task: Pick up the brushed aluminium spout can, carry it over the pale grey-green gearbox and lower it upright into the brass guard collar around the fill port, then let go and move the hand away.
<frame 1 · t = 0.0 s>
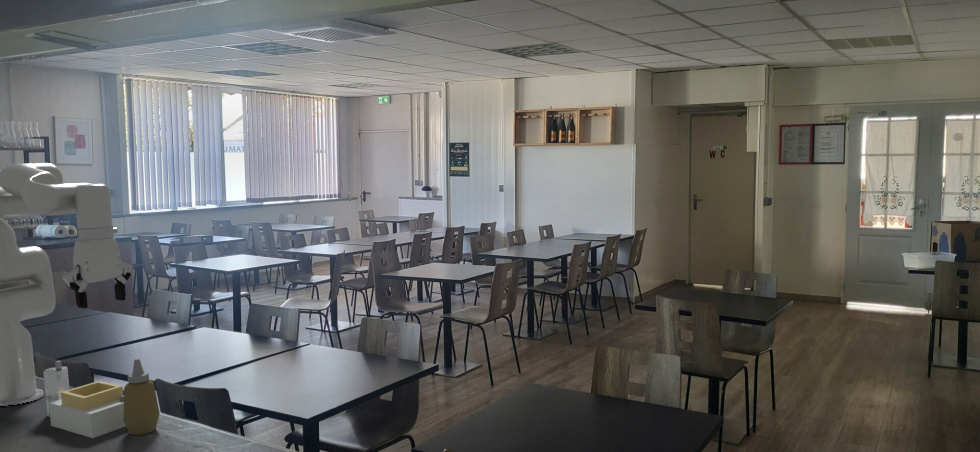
hand: (102, 303, 181), 31 cm above the table, tool pointing down, fingers open, 9 cm apart
spout can: (59, 413, 195), on the table
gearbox: (94, 423, 187), on the table
squeeze bottle: (143, 431, 181), on the table
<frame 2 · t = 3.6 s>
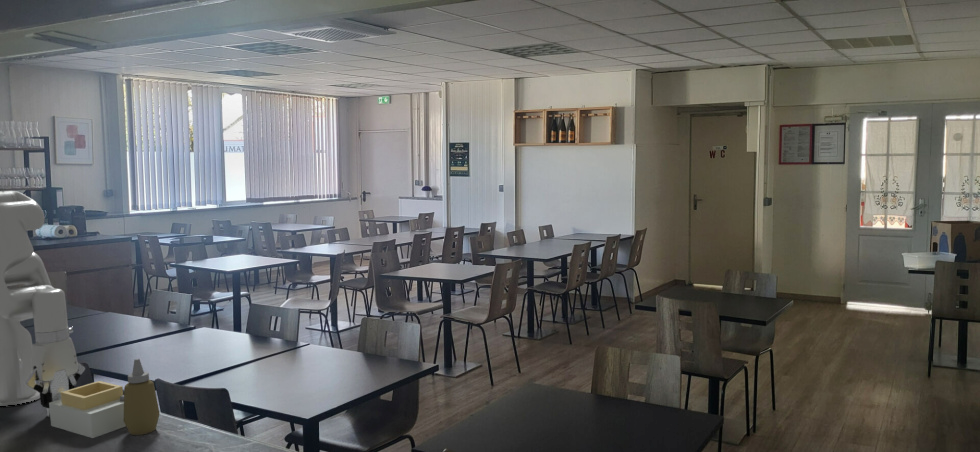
hand: (58, 402, 195), 3 cm above the table, tool pointing down, fingers closed on spout can, 5 cm apart
spout can: (59, 413, 195), on the table, touching gripper
everything else where it was.
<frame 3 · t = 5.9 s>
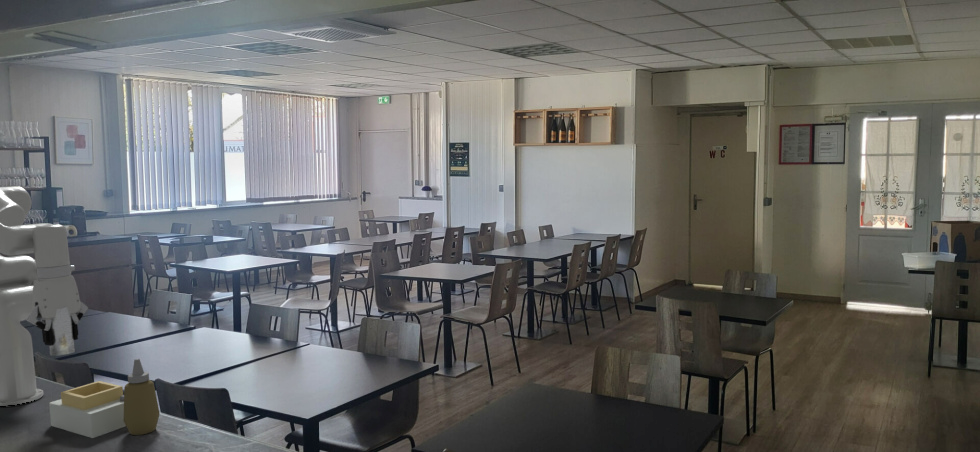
hand: (61, 341, 191), 20 cm above the table, tool pointing down, fingers closed on spout can, 5 cm apart
spout can: (62, 352, 191), point 17 cm above the table, touching gripper
everything else where it was.
when the fingers open (10 cm above the table, at t = 8.6 s): spout can drops 1 cm, resting on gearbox.
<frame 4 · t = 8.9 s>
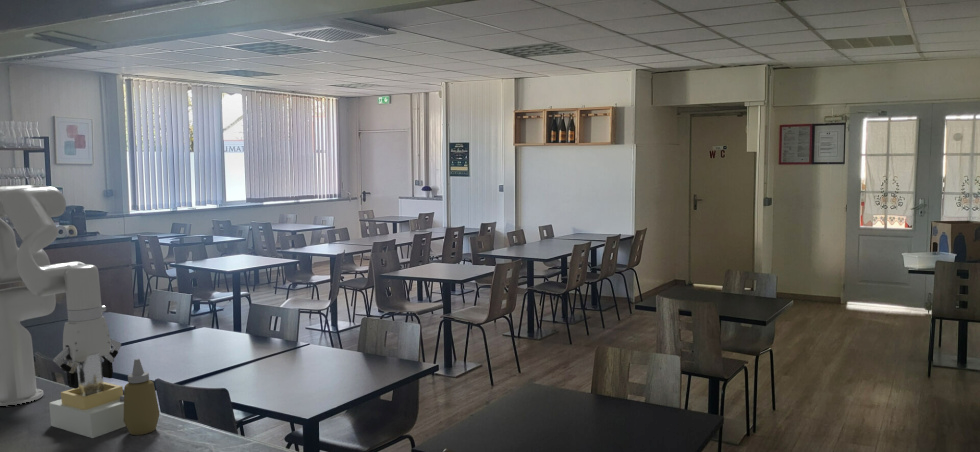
hand: (91, 382, 186), 11 cm above the table, tool pointing down, fingers open, 8 cm apart
spout can: (92, 399, 186), point 6 cm above the table, touching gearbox
everything else where it was.
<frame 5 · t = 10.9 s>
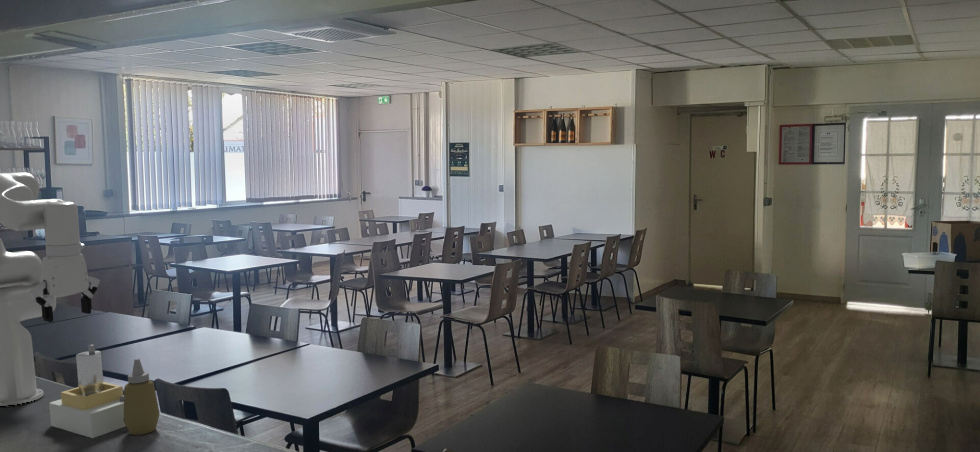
hand: (67, 317, 188), 27 cm above the table, tool pointing down, fingers open, 9 cm apart
nothing on the table moved.
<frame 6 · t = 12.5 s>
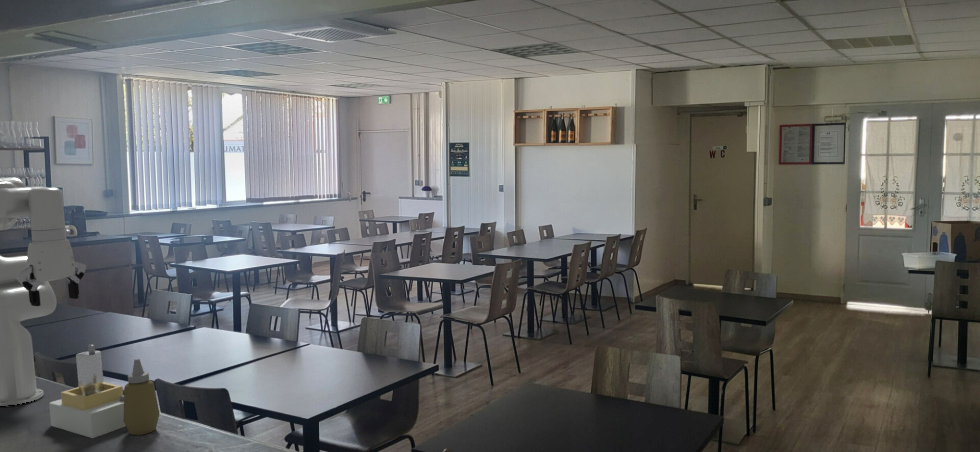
hand: (55, 302, 190), 30 cm above the table, tool pointing down, fingers open, 9 cm apart
nothing on the table moved.
at the end: spout can 0.1 cm off-centre on the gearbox, point 6.2 cm above the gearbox's base; spout can tilted 0°; the gripper is holding nothing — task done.
